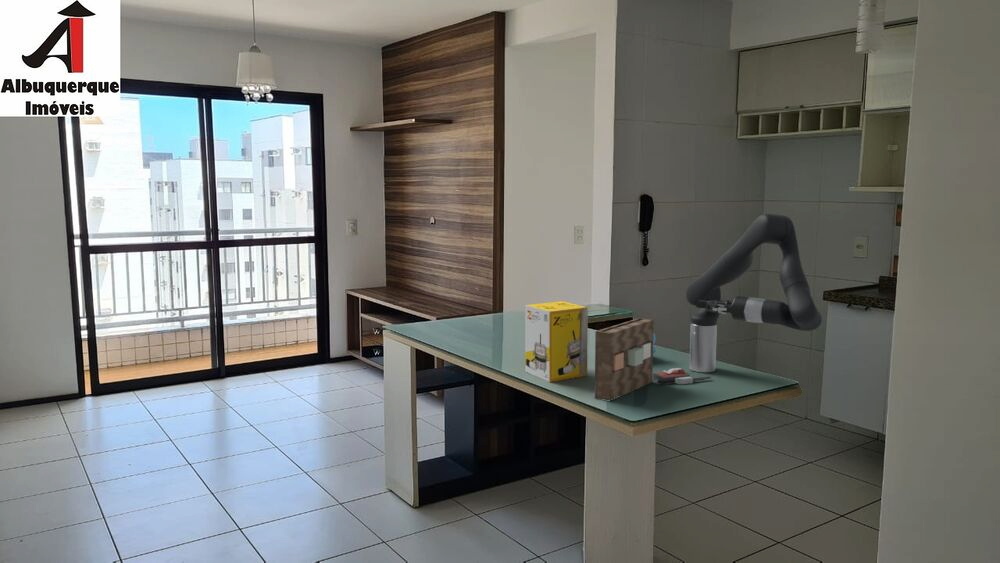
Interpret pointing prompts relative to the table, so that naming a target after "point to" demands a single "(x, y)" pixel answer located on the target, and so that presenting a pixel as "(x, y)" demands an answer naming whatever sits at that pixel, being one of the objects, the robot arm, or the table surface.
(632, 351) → the sage key
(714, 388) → the table surface
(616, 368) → the terracotta key
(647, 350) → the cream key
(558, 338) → the packaging box
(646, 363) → the keypad panel
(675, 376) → the walkie-talkie
